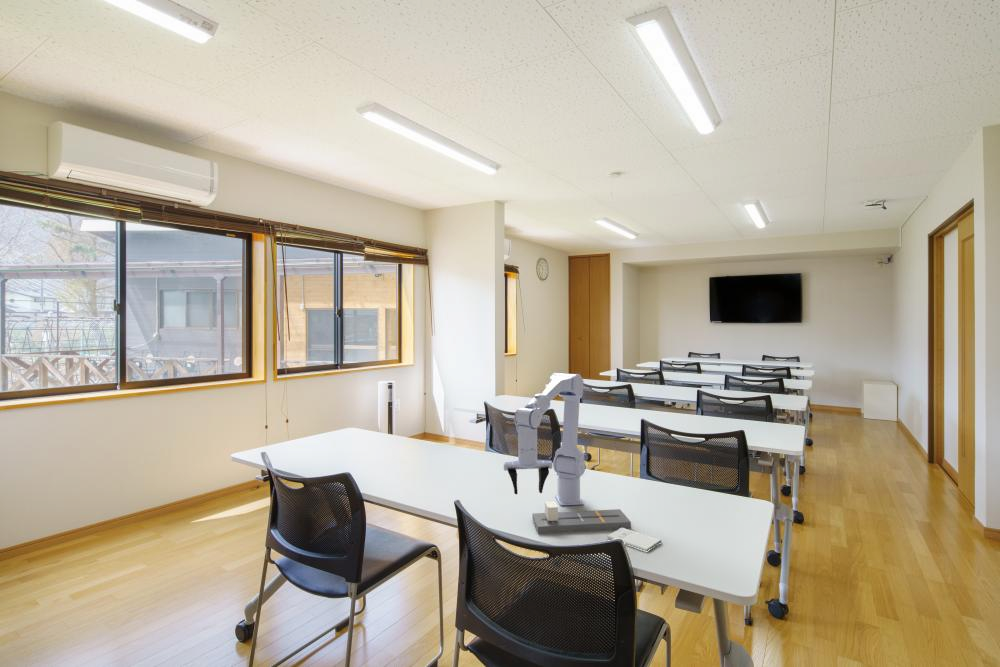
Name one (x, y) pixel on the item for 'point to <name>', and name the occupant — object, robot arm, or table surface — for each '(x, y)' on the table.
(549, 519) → the fader tab
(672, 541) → the table surface
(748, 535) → the table surface
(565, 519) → the console
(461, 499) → the table surface
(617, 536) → the external hard drive
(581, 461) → the robot arm
